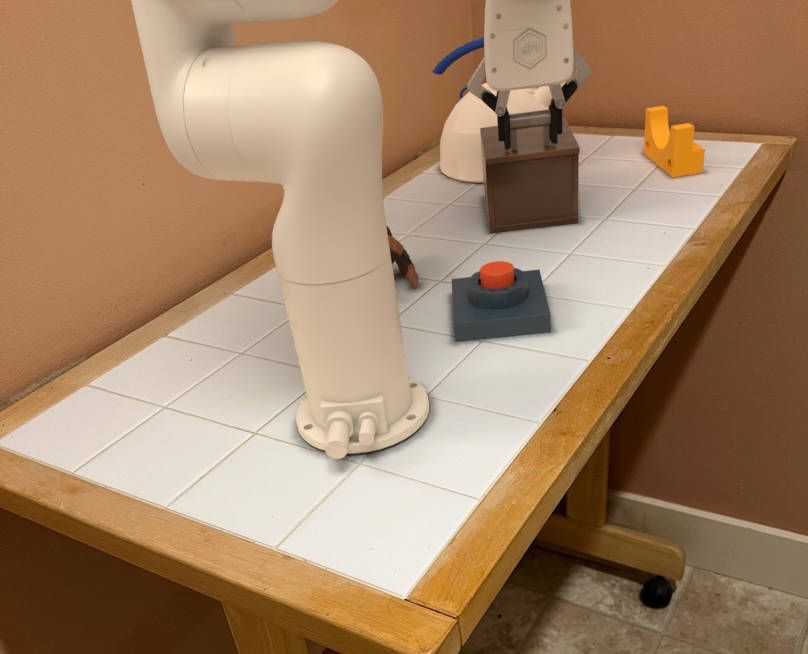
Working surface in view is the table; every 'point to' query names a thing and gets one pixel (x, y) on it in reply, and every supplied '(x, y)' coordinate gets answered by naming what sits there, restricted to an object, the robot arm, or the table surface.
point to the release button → (497, 275)
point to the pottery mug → (402, 259)
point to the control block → (500, 307)
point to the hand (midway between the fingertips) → (530, 142)
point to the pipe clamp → (671, 144)
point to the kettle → (477, 121)
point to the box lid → (528, 139)
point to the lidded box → (531, 192)
